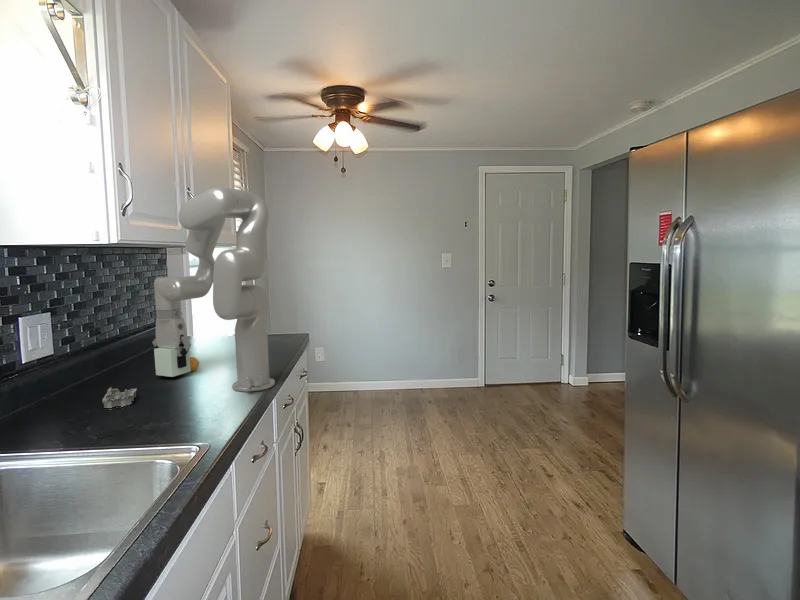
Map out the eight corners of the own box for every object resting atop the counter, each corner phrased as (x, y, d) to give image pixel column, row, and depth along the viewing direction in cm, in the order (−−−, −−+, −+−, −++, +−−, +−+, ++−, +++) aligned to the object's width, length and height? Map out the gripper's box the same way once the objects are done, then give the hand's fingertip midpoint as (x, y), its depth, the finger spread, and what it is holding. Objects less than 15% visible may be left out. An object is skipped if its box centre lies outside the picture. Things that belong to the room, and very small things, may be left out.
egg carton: (111, 400, 143) (109, 386, 142) (139, 397, 145) (138, 383, 144) (99, 411, 132) (98, 396, 132) (130, 408, 135) (129, 393, 134)
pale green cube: (172, 376, 160) (170, 350, 159) (156, 374, 163) (153, 349, 162) (190, 371, 167) (188, 345, 166) (174, 369, 170) (172, 344, 169)
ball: (198, 357, 171) (202, 369, 173) (194, 352, 175) (198, 364, 177) (184, 363, 168) (188, 375, 170) (180, 358, 172) (184, 370, 174)
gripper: (197, 313, 163) (201, 365, 165) (159, 312, 170) (163, 361, 172) (179, 317, 156) (183, 371, 158) (140, 315, 163) (145, 367, 165)
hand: (173, 366), depth 165 cm, fingers closed on pale green cube, 7 cm apart
